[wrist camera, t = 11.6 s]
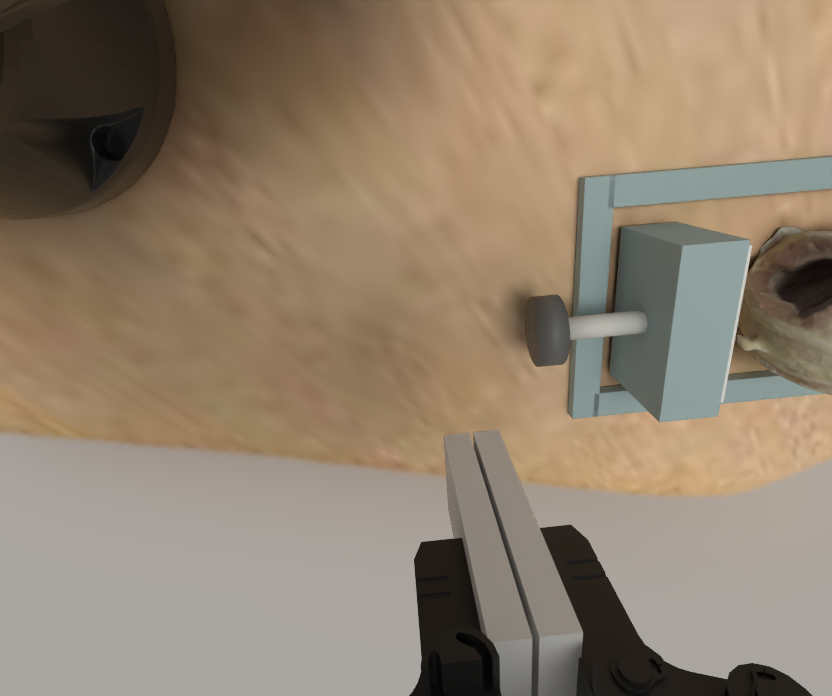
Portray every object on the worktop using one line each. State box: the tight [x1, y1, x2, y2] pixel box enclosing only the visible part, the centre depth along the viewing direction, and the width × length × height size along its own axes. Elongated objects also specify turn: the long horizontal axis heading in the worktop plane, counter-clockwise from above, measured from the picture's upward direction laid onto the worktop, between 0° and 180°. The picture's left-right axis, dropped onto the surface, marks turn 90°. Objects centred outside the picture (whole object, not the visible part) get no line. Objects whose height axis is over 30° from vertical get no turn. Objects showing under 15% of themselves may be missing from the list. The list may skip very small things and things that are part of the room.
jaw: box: [525, 222, 752, 422], centre depth 25 cm, size 9×9×6 cm
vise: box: [568, 156, 832, 419], centre depth 26 cm, size 22×14×6 cm, turn 94°
